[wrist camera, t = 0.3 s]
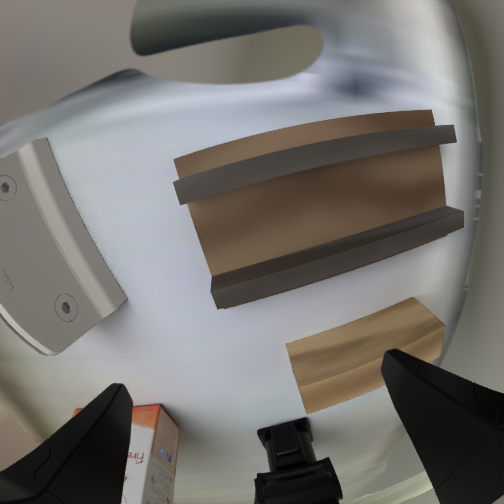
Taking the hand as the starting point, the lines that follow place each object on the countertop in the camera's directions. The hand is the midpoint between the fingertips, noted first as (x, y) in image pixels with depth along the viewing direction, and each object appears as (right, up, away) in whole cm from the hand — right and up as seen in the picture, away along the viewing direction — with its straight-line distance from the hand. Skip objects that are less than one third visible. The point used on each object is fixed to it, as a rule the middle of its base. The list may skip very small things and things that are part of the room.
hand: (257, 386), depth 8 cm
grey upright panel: (-18, +6, +12) cm, 22 cm away
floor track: (+6, +9, +13) cm, 16 cm away
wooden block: (+10, -4, +17) cm, 21 cm away
